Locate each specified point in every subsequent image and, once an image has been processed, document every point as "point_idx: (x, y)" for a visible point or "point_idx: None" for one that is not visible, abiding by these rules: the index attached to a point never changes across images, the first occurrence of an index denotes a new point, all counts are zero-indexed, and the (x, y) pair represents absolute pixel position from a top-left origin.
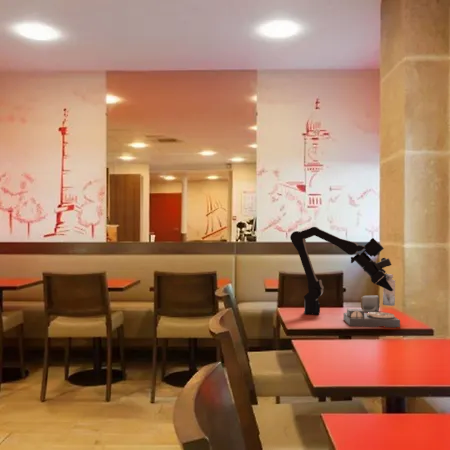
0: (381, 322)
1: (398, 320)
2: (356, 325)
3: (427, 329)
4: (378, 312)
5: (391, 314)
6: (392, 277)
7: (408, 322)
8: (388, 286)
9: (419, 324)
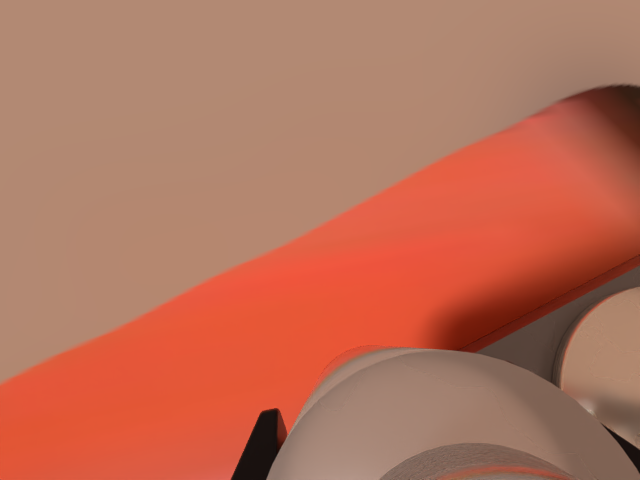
0: None
1: None
2: None
3: (592, 92)
4: None
5: (627, 316)
6: (543, 462)
7: (415, 232)
8: None
9: (446, 159)
